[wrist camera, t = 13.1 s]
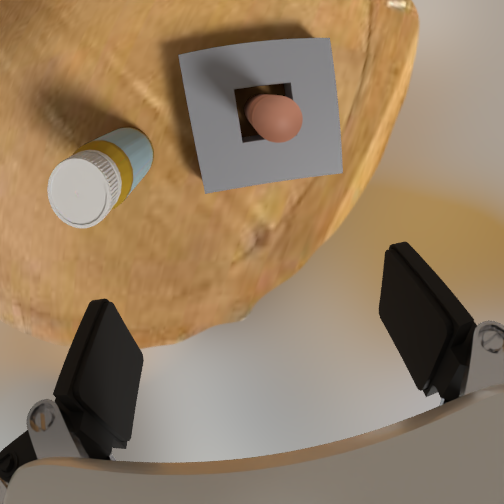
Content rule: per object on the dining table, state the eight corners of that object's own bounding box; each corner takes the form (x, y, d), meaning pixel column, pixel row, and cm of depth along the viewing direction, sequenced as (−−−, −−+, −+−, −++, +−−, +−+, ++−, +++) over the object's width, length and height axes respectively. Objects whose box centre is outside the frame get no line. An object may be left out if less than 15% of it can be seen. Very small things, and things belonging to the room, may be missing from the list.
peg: (241, 96, 32) (250, 98, 22) (275, 92, 32) (299, 93, 22) (246, 128, 34) (257, 145, 24) (280, 123, 34) (304, 139, 24)
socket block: (183, 58, 29) (178, 55, 26) (319, 42, 29) (329, 37, 26) (207, 183, 37) (205, 193, 34) (331, 164, 37) (342, 172, 34)
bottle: (102, 128, 32) (39, 155, 19) (155, 125, 33) (112, 150, 20) (104, 180, 35) (50, 232, 22) (155, 180, 36) (119, 234, 23)
